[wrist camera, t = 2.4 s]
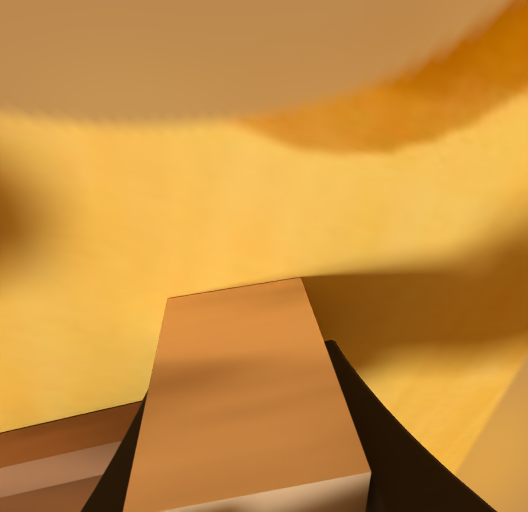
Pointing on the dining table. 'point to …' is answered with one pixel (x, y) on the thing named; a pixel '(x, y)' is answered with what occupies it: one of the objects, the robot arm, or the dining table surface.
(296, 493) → the oak block
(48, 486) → the walnut pedestal
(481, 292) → the dining table surface
